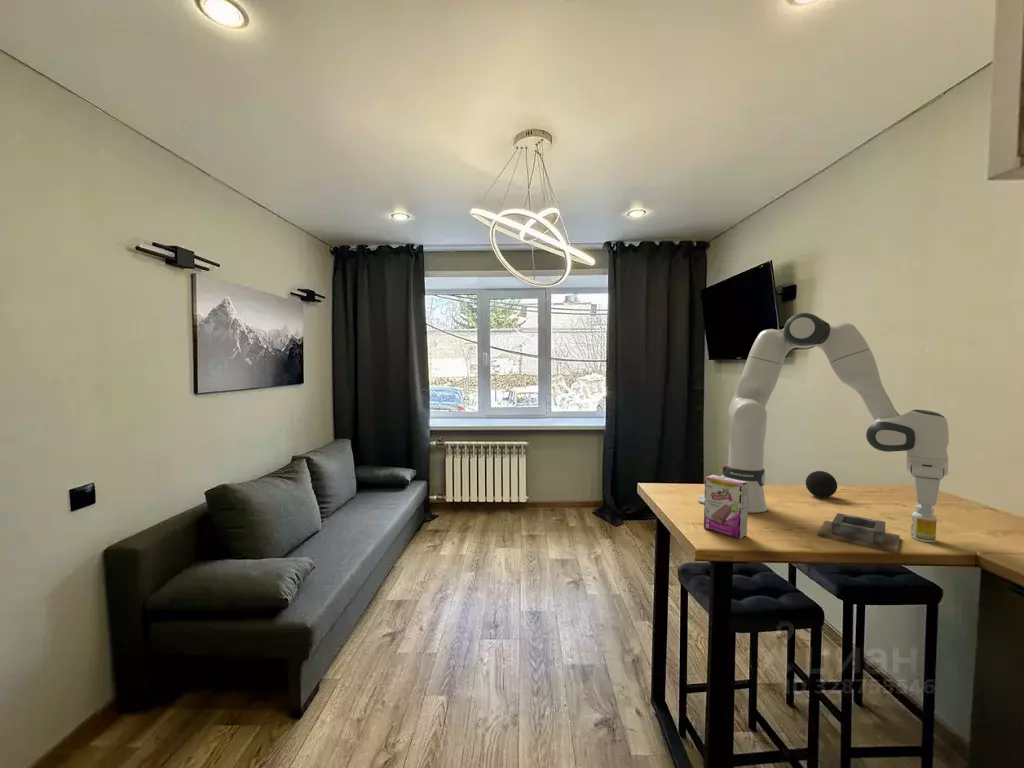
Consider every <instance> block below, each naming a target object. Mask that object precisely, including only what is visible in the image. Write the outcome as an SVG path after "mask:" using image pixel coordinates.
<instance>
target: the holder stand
mask: <svg viewBox="0 0 1024 768" xmlns="http://www.w3.org/2000/svg"><path fill="white" fill-rule="evenodd" d="M816 533H817V537H821V538H825V539H830V540H835V541H838V542H843V543H849V544H853V545H858V546H862V547H867V548H872V549H875V548H876V550H880V549H881V551H885V552H890V553H895V554H898V552H899V551H898V550H899V546H900V539H901V538H900V536H901V535H900V534H895V533H890V532H886V521H883V520H877V519H872V518H867V517H861V516H857V515H849V514H845V513H840V512H838V513H836V515H835V516H834V518H833V520H832V521H830V520H824V522H823V523H822V525H821V526H820V528H819V529H818V531H817V532H816Z"/></svg>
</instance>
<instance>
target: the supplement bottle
mask: <svg viewBox="0 0 1024 768" xmlns="http://www.w3.org/2000/svg"><path fill="white" fill-rule="evenodd" d="M934 513H935V509H934V507H932V508H931V518H929V519H928V518H923V517H922V507H921V504H915V506H914V511H913V512H911V516H910V517H911V518H910V519H911V520H910V537H911V538H912V539H913V538H914V539H913V540H915V539H916V540H915V541H918V540H919V541H920V542H924V543H935V542H936V537H937V536H936V532H937V521H938V520H937V516H935V515H934Z"/></svg>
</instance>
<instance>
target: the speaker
mask: <svg viewBox="0 0 1024 768" xmlns="http://www.w3.org/2000/svg"><path fill="white" fill-rule="evenodd" d="M805 486H806V487H805V488H806V489H807V490H808V492H809V493H810V494H811V495H813V496H815V497H818V498H824V499H825V498H829V497H832V496H834V494H836V492H837V490H838V482H837V480H836V478H835V477H834V476H833V475H832V474H831V473H829V472H827V471H823V470H816V471H812V472H810V473H809V474H808V475H807V477H806V479H805Z"/></svg>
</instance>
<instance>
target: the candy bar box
mask: <svg viewBox="0 0 1024 768" xmlns="http://www.w3.org/2000/svg"><path fill="white" fill-rule="evenodd" d="M704 494H705V503H704V504H703V507H704V508H703V512H704V513H703V514H704V515H703V529H704V530H709V531H712V532H715V533H718V534H721V535H725V536H728V537H731V538H735V539H737V538H738V539H737V540H741V539H742V537H743V538H745V537H747V536H746V535H748V513H749V512H748V511H747V510H748V482H745V481H741V480H736V479H731V478H726V477H722V475H716V474H710V475H707V476H705V477H704ZM744 536H745V537H744ZM740 538H741V539H740Z"/></svg>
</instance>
